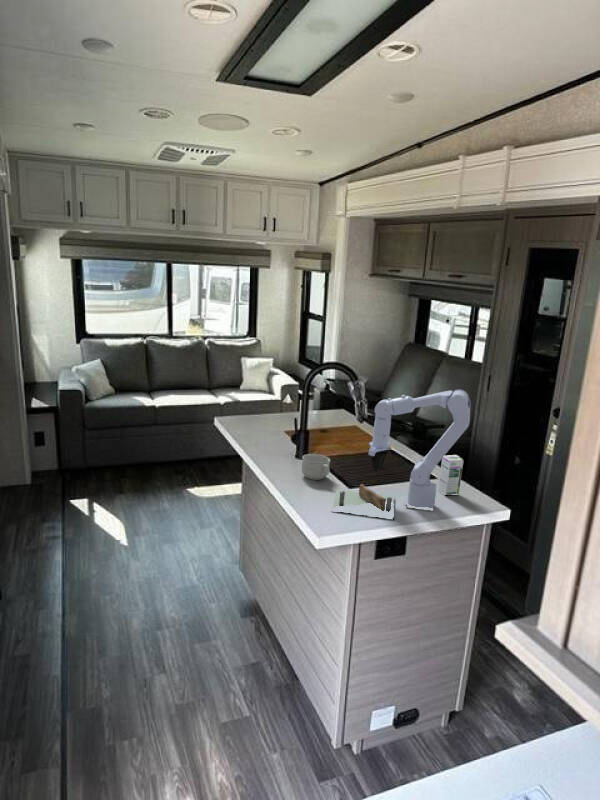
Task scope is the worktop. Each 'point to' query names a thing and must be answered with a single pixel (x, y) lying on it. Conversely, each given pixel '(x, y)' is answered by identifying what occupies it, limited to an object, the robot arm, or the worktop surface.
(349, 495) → the gate mat
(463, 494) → the worktop surface
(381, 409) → the robot arm
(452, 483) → the syrup box
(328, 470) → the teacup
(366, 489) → the wooden block
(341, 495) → the dark gray metal cylinder
